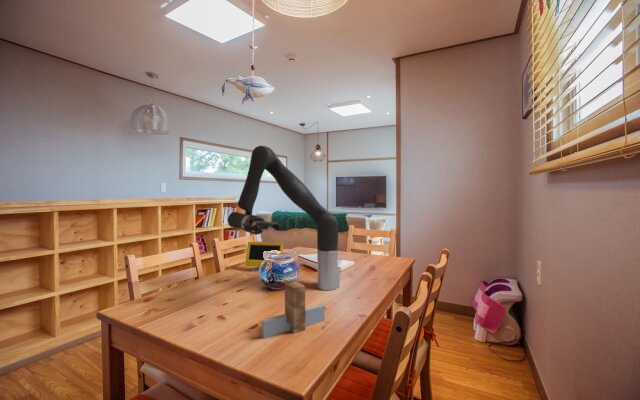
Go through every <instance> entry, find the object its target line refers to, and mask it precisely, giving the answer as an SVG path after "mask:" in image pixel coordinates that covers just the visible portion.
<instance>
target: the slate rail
mask: <svg viewBox="0 0 640 400" xmlns="http://www.w3.org/2000/svg"><path fill="white" fill-rule="evenodd" d="M325 311H326V310H325V305H323V304H319V305H315V306H310V307H307V308H306V307H305V327H308V326H310V325H314V324H317V323H321V322H324V321H325V317H326V316H325V314H326V313H325ZM290 331H291V332H292V323H290V322H289V321H287V316H286V315H285V313H283V314H279V315H277V316H272V317H268V318H265V319H264V318H263V319H261V336H262V338H263V339H267V338H270V337H273V336H277V335H280V334H284V333H287V332H290Z"/></svg>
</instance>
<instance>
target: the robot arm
mask: <svg viewBox="0 0 640 400" xmlns="http://www.w3.org/2000/svg"><path fill="white" fill-rule="evenodd" d="M265 170H266V171H267V172H268V173H269V174H270V175H271V176H272V177H273V178H274V179H275V182H277V184H278V186H279V188H280V189H281V191H282V192H283V193H284V195H286V196H287V198H288V199H289V200H290V201H291V202H292V203H293V204H295V205H296V206H297V207H298V208H300V209H301V210H302V211H304V212H305V213H306V214H307V215H308V216H309V217H310V218H311V219H312V221H313V222H314V223H315V224H316V228H317V229H316V232H317V233H316V237H317V239H316V243H317V262H316V263H317V266H316V267H317V271H316V273H317V275H316V276H317V277H316V279H317V280H316V281H317V282H316V283H317V289H319V290H321V291H322V290H323V291H333V290H336V289H338V288H340V266H339V263H338V262H339V260H338V259H339V256H338V254H339V253H338V252H339V250H338V249H339V247H338V246H339V222H338V219H337V217H336V216H334V215H333V214H332V213H331V212H329V211H328V210H327V209H326V208H325V207H324V206H323V205H321V204H320V203H319V201H318V199H316V197H315V196H314V195H313V193H312V192H311V191H310V189H308V187H307V186H306V185H305V184H304V183H303V181H302V180H300V179H299V178H298V177H297V175H295V174H294V173H293V172H292V171H291V170H290V169H289V168H288V167H286V166H285V164H283V162H282V161H281V160H280V158H279V157H278V155H276V153H275V152H274V151H273V149H272V148H270V147H268V146H265V145H258V146H255V147H254V148H253V150H252V152H251V156H250V162H249V166H248V171H247V175H246V179H245V182H244V185H243V188H242V191H241V193H240V196H239V200H238V201H237V207H239V208H240V210H244V213H242V212H237V211H236V212H235V211H233V212H230V214H229V215H228V217H227V224H228V225H229V227H230V228H233V229H234V228H235V229H240V230H241V231H244V232H247V233H249V234H253V235H260V234H262V233H264V232H266V231H268V232H269V231H273V230H274V231H281V230H282V222H280V221H279V222H278V221H267V220H265V219H264V218H263V217H262V216H260V215H254V214H253V210H254V205H255V203H256V200H257V198H258V197H257V196H258V193H259V190H260V182H261V179H262V176H263V173H264V172H265Z"/></svg>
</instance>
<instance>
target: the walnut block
mask: <svg viewBox="0 0 640 400" xmlns="http://www.w3.org/2000/svg"><path fill="white" fill-rule="evenodd" d="M305 309H306V286H305V285H304V284H302V283H300V282H299V281H295V280H294V281H290V282H285V283H284V315H286V316H287V321H289V322H290V323H292V330H291V332H292V333H293V334H296V333H299V332H300V333H301V332H303V331H306V326H305Z"/></svg>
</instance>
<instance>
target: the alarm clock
mask: <svg viewBox="0 0 640 400" xmlns="http://www.w3.org/2000/svg"><path fill="white" fill-rule="evenodd" d="M271 250H278V251H281V252H284V243H282V242H274V241H248V242H247V248H246V257H245V263H244V266H246V267H254V268H251V269H250V272H251V271H259V267H260V266H261V263H262V262H263V261H264V258H263V252H264V251H271Z"/></svg>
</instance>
